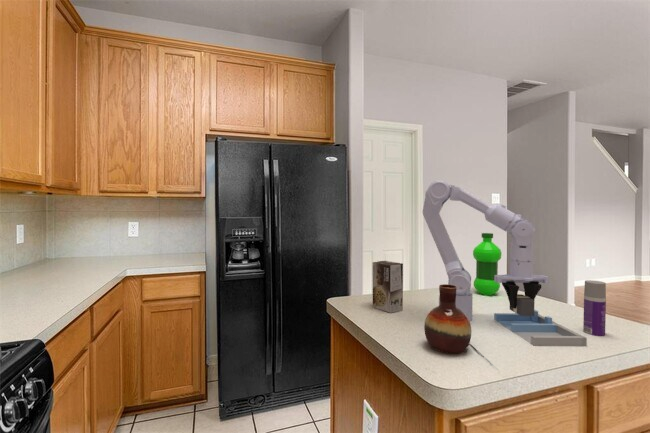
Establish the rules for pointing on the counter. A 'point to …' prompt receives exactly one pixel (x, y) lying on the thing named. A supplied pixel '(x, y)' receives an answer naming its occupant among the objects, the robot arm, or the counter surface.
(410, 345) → the counter surface
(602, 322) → the container
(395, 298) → the coffee box
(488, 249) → the plastic bottle
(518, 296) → the dark striped block
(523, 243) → the robot arm
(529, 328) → the board
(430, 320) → the vase
